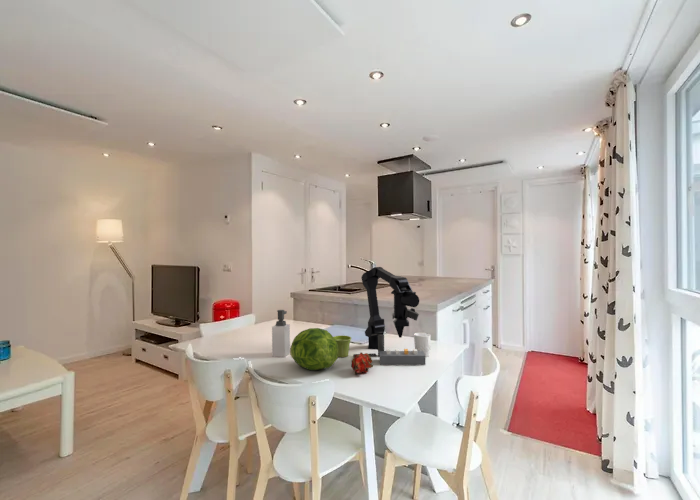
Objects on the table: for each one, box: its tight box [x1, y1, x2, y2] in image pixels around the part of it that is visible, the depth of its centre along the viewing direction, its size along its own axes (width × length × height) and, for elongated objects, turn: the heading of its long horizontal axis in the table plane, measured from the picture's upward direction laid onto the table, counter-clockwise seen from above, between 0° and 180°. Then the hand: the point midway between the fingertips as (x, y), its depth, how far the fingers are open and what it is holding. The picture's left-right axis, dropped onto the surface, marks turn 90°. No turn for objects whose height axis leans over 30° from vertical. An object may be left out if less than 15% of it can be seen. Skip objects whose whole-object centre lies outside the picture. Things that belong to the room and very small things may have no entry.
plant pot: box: [333, 334, 352, 358], centre depth 161 cm, size 9×9×9 cm
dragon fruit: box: [350, 352, 374, 375], centre depth 139 cm, size 8×8×12 cm
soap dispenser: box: [271, 309, 291, 358], centre depth 165 cm, size 6×9×22 cm
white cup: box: [413, 332, 432, 358], centre depth 160 cm, size 8×8×10 cm
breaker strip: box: [379, 348, 426, 366], centre depth 151 cm, size 20×7×6 cm, turn 87°
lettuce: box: [289, 327, 339, 371], centre depth 145 cm, size 18×23×19 cm
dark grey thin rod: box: [352, 352, 377, 358], centre depth 159 cm, size 11×1×1 cm, turn 95°
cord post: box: [377, 334, 385, 358], centre depth 160 cm, size 3×3×10 cm
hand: (400, 337), depth 156 cm, fingers closed
